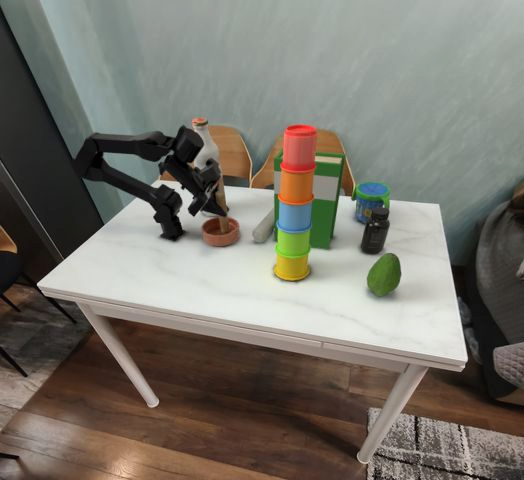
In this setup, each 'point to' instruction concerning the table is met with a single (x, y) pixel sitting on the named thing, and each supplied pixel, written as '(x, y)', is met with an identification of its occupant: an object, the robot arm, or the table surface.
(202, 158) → the fruit juice
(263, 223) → the tube
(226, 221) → the muddler
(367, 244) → the supplement bottle
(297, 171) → the stacking cups
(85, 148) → the robot arm
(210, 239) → the bowl
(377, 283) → the avocado
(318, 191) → the hardback book
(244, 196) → the table surface
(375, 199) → the snack cup
